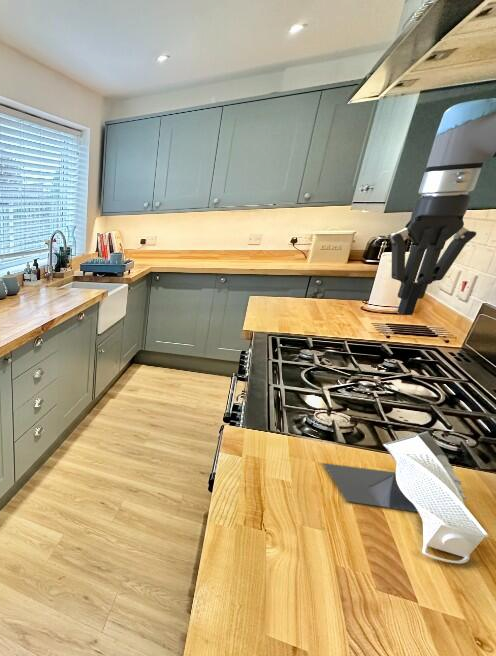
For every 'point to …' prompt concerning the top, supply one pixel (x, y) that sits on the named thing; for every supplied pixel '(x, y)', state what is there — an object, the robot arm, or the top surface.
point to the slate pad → (369, 487)
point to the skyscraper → (435, 496)
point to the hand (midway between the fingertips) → (404, 313)
